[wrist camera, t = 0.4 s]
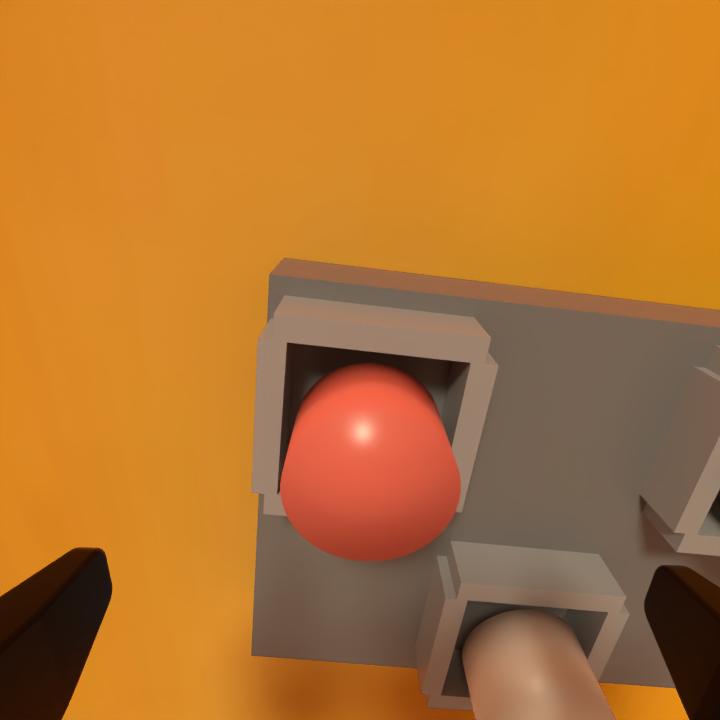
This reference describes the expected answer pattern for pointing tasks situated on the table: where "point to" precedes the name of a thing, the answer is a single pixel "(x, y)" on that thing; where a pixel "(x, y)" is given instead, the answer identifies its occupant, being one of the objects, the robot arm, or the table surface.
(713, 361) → the control panel
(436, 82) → the table surface
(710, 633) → the robot arm
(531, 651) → the cream button
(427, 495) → the red button
